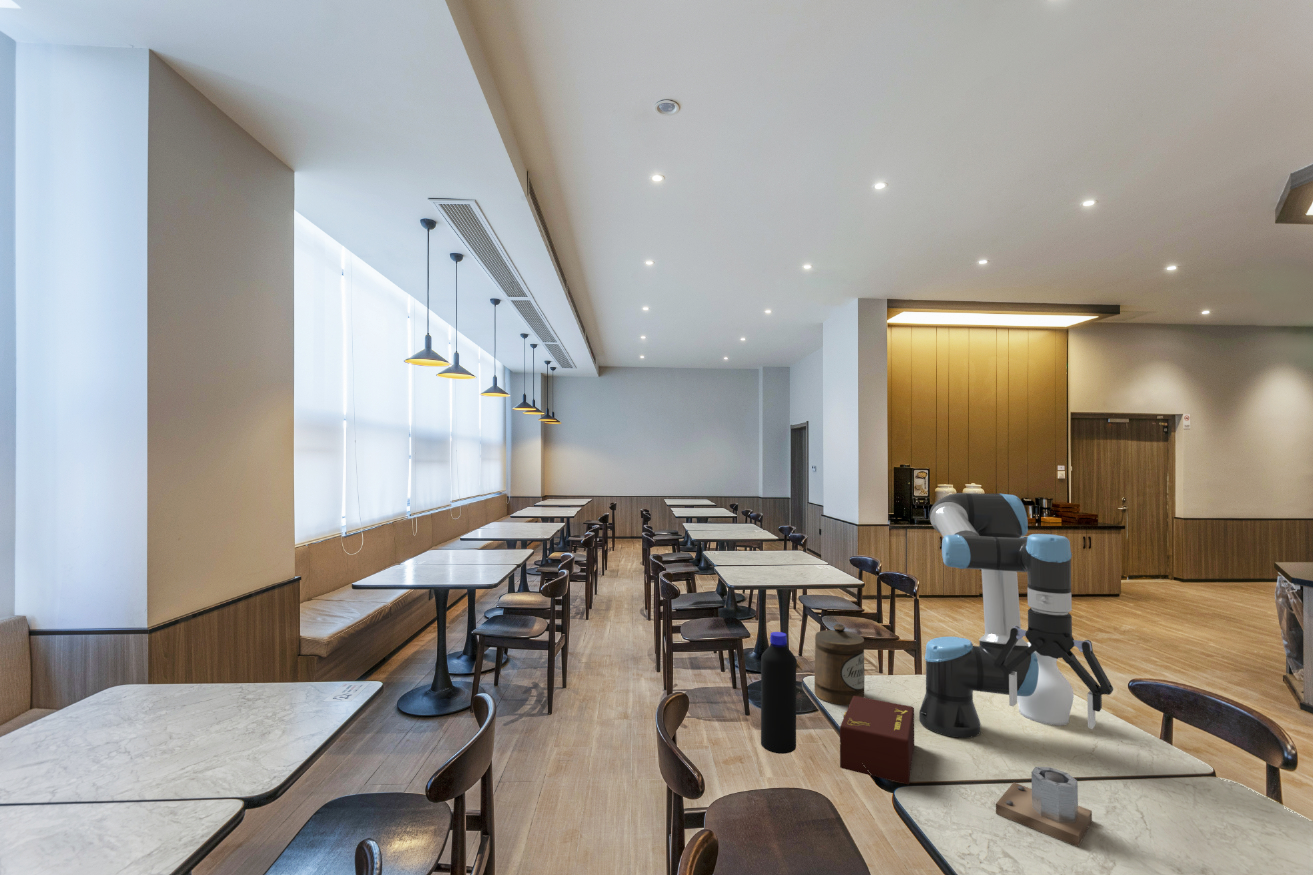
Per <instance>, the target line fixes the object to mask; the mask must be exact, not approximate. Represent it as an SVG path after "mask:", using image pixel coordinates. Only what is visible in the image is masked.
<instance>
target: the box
mask: <svg viewBox="0 0 1313 875" xmlns="http://www.w3.org/2000/svg"><path fill="white" fill-rule="evenodd" d="M839 726H840V727H839V743H840V744H839V768H840V769H844V770H846V771H847V770H848V771H851V772H855V773H859V774H864V775H868V776H871V775H870V773H871V774H872V775H873V776H872V777H875V775H876V778H880V779H884V778H885V779H884V780H888V781H892V782H897V783H901V784H905V785H909V784H910V779H911V774H912V772H911V771H912V766H913V757H914V753H915V752H914V751H915V708H914V707H913V706H911V705H905V704H900V703H894V702H890V701H885V700H877V699H873V698H868V697H864V698H863V697H858V696H853V698H852V700H851V703H850V705H848V708H847V710H846V711H844V713H843V719H842V721H841V724H840V725H839ZM862 763H863V764H862ZM863 765H865V767H866V768H865V767H864V766H863ZM867 770H869V772H870V773H869V772H868V771H867Z"/></svg>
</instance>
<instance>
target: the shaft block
mask: <svg viewBox="0 0 1313 875" xmlns="http://www.w3.org/2000/svg"><path fill="white" fill-rule="evenodd" d="M1045 779H1047V780H1050V781H1053V782H1056V783H1064V778H1063V777H1062V776H1061V775H1059V774H1057V773H1053V772H1046V773H1045ZM995 814H996V815H998V816H1001V817H1004V818H1005V819H1009V820H1011V821H1013V822H1015V823H1017V824H1021V825H1022V826H1025V827H1028V828H1030V829H1033V830H1035V831H1038V832H1040V833H1043V834H1045V835H1047V836H1050V837H1053V838H1055V839H1057V840H1060V841H1062V842H1064V843H1067V844H1070V845H1072V846H1075V847H1077V848H1079V847H1080V845H1081V843H1082V841H1083V839H1084V837H1085V835H1086V833H1087V831H1088V829H1089V827H1090V826H1091V824H1092V822H1093V810H1091V809H1089V808H1085V807H1083V806H1080V805H1078V818H1077V820H1076V822H1075V823H1059V822H1056V821H1053V820H1051V819H1048V818H1046V817H1043V816H1041V815H1040V814H1039V813H1038V812H1037V811H1036V810H1035V809H1034V808H1033V807H1032V787H1031V788H1030V787H1028V786H1025V785H1023V784H1019V783H1017V782H1012V783H1011V785H1010V786H1009V787H1008V788H1007V789H1006V790H1005V791H1004V793H1003V794H1002V796H1001V797H999V799H998V800H997V801H996V803H995Z"/></svg>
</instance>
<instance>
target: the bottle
mask: <svg viewBox="0 0 1313 875" xmlns="http://www.w3.org/2000/svg"><path fill="white" fill-rule="evenodd" d="M769 636H770V637H769V643H770V644H769V646H768V647H767V648H766V649H765V650H764V651H763V653H762V654H761V657H760V659H761V660H760V666H761V667H760V690H761V691H760V745H761V747H763V749H765V751H768V752H770V753H773V754H779V755H782V754H785V755H786V754H791V753H793V752H795V750H796V748H797V658H796V655H795V654H794V653H793V652H792V651H791V650H790V649H789V647H788V637H787V633H785V632H782V631H772V632H770V635H769Z"/></svg>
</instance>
